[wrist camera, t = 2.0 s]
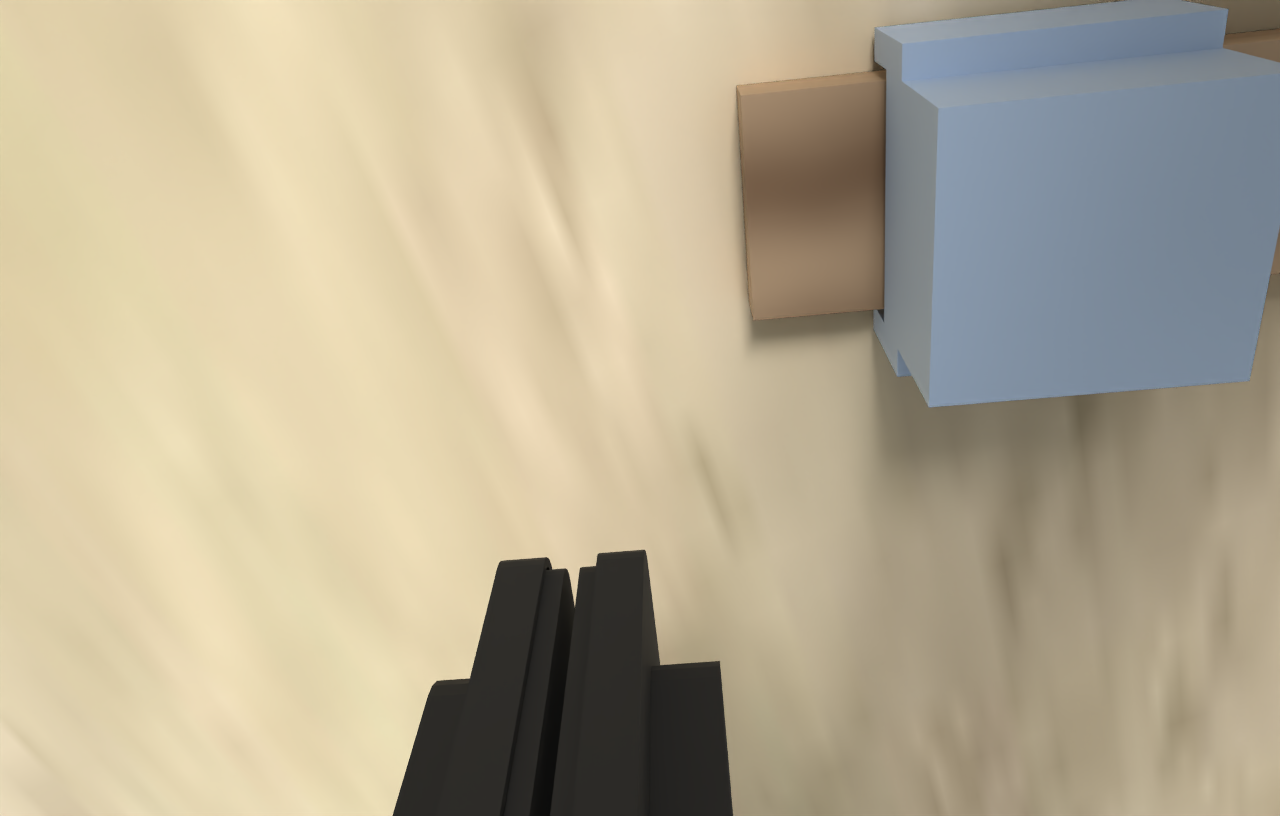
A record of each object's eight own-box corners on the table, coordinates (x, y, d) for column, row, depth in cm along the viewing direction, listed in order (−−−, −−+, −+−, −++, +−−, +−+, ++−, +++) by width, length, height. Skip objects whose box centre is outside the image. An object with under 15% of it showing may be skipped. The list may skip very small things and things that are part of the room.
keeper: (874, 27, 25) (939, 65, 19) (1161, -4, 24) (1318, 25, 18) (873, 329, 28) (927, 438, 23) (1122, 307, 28) (1242, 413, 22)
